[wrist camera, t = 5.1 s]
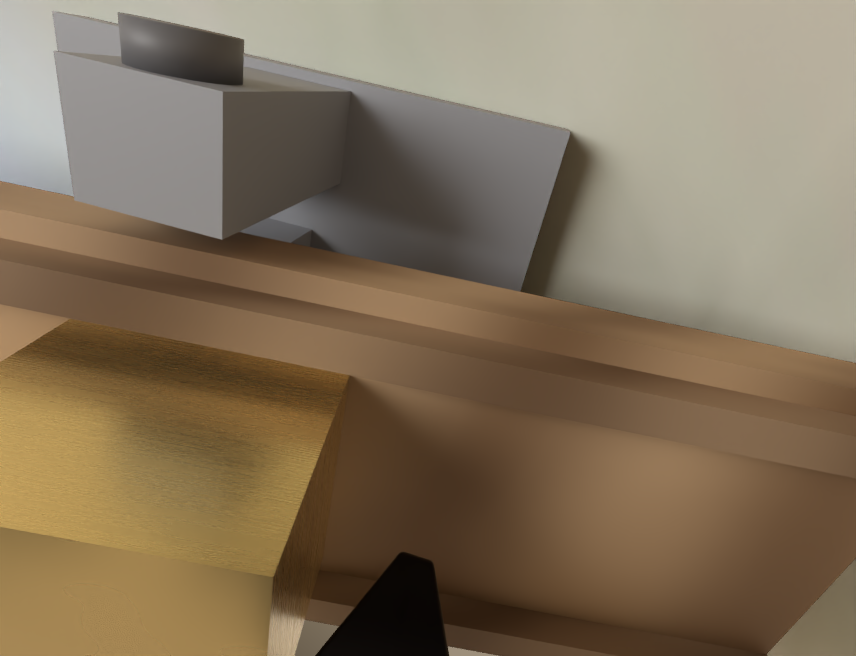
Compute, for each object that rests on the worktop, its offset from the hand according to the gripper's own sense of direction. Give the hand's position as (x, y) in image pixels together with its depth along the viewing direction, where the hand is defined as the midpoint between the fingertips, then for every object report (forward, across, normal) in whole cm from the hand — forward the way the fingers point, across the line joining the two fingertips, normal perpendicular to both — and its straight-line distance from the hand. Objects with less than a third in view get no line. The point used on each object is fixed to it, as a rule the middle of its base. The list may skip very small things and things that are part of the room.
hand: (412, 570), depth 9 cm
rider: (+1, +4, 0) cm, 5 cm away
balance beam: (+2, +5, 0) cm, 5 cm away
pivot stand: (+7, +5, 0) cm, 8 cm away
